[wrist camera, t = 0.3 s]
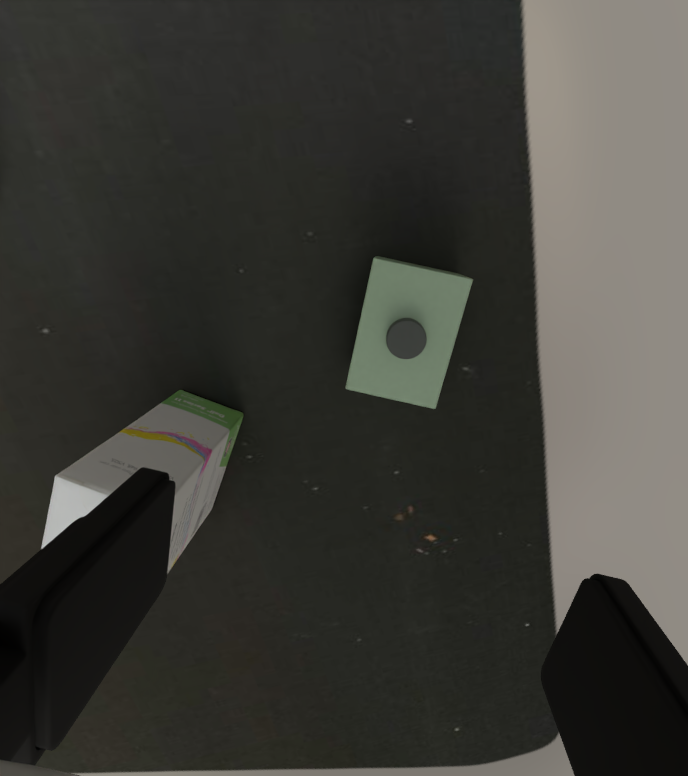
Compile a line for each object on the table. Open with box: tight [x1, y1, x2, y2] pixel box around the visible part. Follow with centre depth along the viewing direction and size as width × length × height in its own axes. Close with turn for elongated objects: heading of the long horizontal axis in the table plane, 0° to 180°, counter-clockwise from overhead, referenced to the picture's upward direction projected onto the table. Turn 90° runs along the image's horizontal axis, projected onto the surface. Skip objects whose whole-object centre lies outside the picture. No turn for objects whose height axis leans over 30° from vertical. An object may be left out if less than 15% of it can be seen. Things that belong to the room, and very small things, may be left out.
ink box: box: [41, 390, 244, 574], centre depth 24 cm, size 9×5×15 cm, turn 158°
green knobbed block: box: [345, 256, 473, 409], centre depth 24 cm, size 7×5×5 cm
